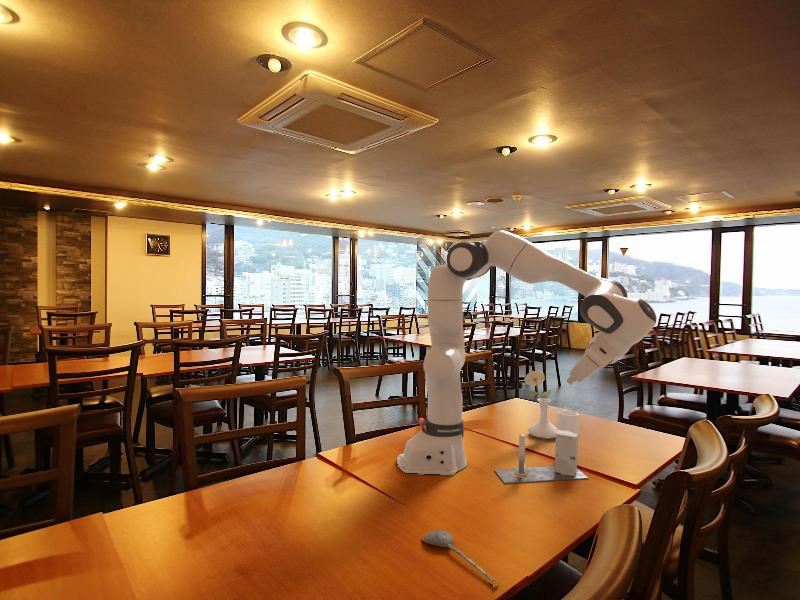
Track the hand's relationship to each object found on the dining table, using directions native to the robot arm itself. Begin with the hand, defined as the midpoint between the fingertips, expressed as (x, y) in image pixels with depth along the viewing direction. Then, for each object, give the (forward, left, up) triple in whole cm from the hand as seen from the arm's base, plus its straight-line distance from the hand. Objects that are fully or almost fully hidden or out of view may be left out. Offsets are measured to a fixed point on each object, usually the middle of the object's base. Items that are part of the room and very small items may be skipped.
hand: (575, 376), depth 134 cm
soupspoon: (-45, -35, -31) cm, 64 cm away
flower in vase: (+6, +34, -31) cm, 46 cm away
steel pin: (-15, +2, -30) cm, 34 cm away
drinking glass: (+6, +14, -31) cm, 34 cm away
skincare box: (-1, +2, -30) cm, 30 cm away
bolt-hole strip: (-9, +2, -30) cm, 32 cm away
